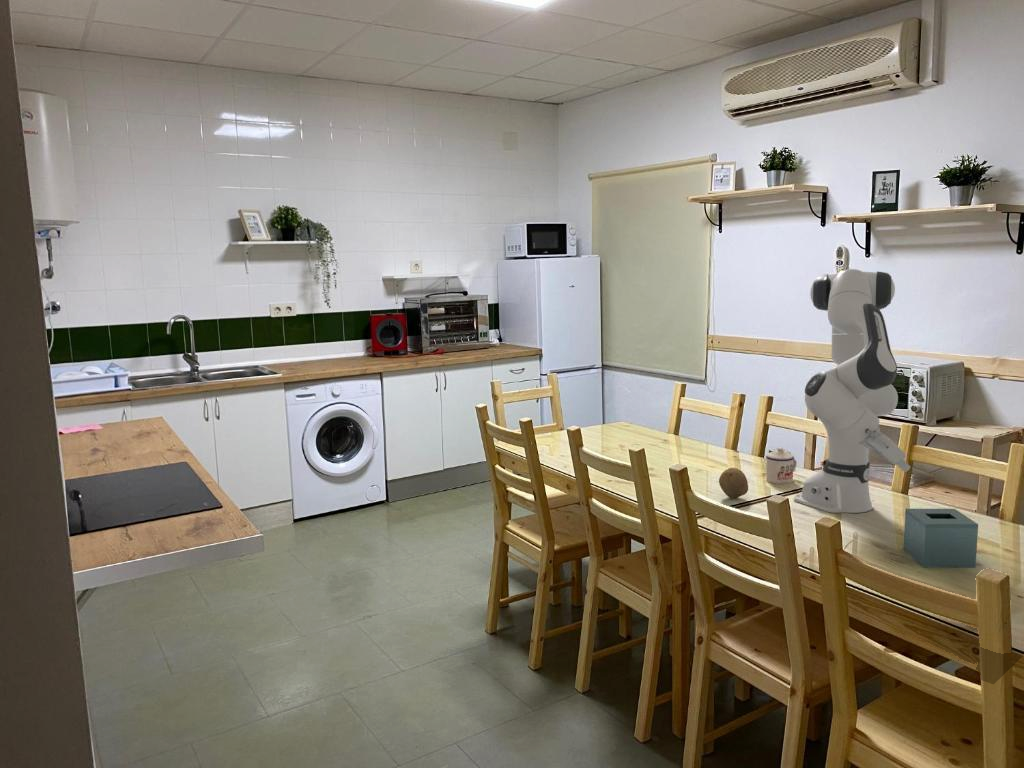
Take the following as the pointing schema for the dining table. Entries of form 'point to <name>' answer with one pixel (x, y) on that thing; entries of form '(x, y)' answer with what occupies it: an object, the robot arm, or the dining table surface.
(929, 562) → the blue-gray slotted box
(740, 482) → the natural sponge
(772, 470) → the teacup with lid
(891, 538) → the dining table surface
